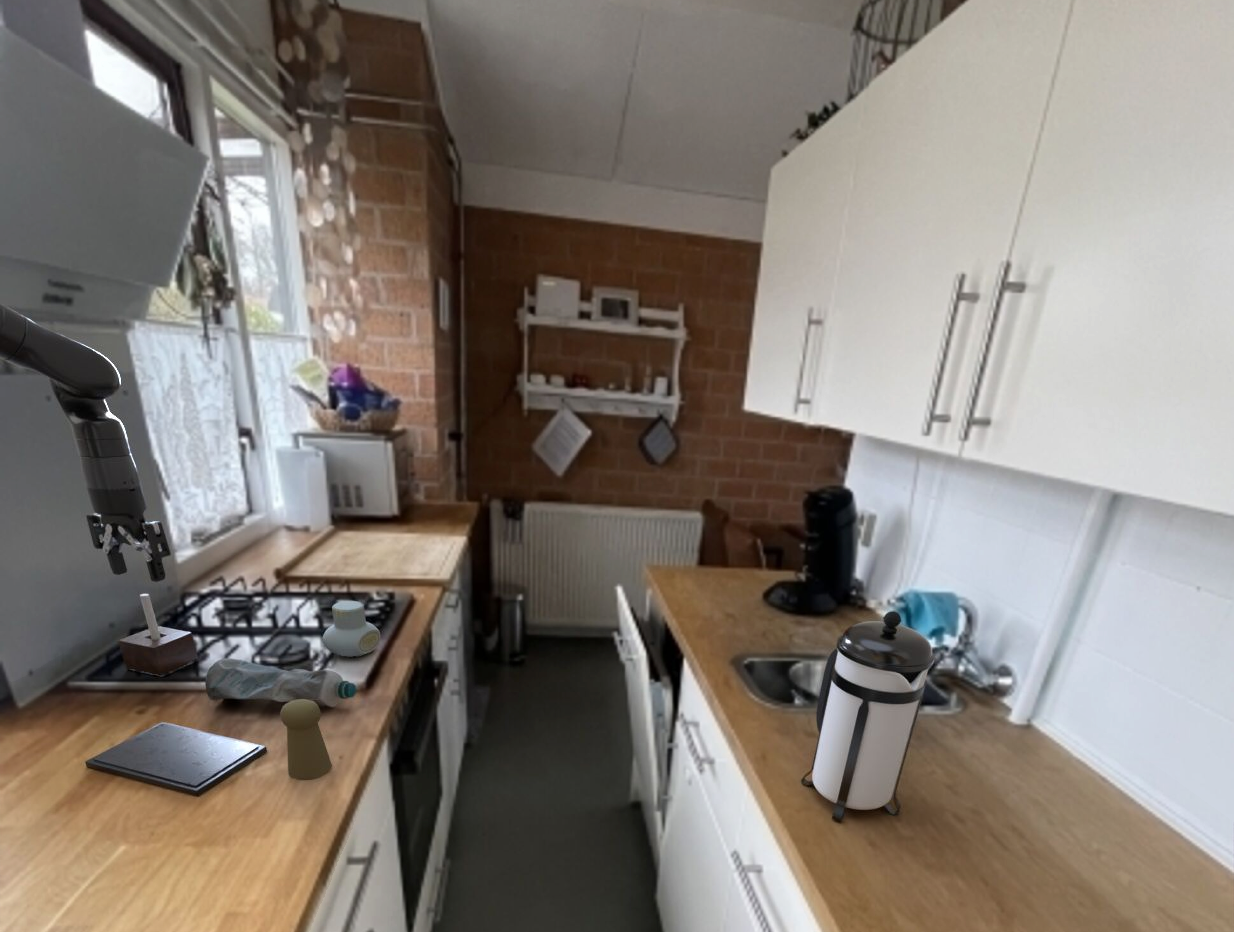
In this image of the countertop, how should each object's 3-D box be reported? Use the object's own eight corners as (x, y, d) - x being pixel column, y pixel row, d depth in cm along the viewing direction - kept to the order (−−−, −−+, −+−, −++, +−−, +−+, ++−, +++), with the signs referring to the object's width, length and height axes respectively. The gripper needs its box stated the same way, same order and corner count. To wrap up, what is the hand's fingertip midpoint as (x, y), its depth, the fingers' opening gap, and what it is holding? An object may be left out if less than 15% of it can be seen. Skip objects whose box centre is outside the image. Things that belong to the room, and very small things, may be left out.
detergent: (194, 709, 118) (333, 726, 115) (186, 669, 115) (328, 685, 112) (245, 683, 130) (372, 697, 127) (239, 646, 127) (369, 659, 124)
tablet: (86, 767, 102) (83, 760, 101) (164, 726, 113) (162, 720, 112) (198, 796, 97) (196, 789, 96) (267, 751, 108) (266, 745, 108)
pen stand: (126, 670, 130) (117, 640, 127) (165, 654, 137) (157, 625, 134) (162, 678, 128) (153, 647, 125) (199, 661, 135) (192, 632, 132)
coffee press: (913, 790, 110) (966, 609, 96) (882, 841, 98) (938, 641, 84) (808, 753, 118) (844, 581, 104) (769, 795, 106) (803, 607, 92)
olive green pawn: (340, 766, 106) (330, 701, 101) (305, 784, 101) (293, 717, 96) (314, 753, 108) (303, 690, 103) (279, 770, 104) (265, 705, 99)
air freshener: (354, 639, 149) (348, 594, 144) (387, 646, 147) (382, 600, 142) (318, 657, 140) (310, 610, 135) (353, 665, 137) (346, 617, 133)
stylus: (157, 666, 132) (137, 595, 125) (163, 663, 133) (144, 593, 126) (163, 667, 131) (143, 596, 125) (169, 665, 133) (150, 594, 126)
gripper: (58, 481, 115) (88, 577, 123) (126, 491, 112) (152, 588, 119) (101, 475, 121) (127, 566, 129) (167, 484, 118) (189, 577, 126)
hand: (139, 577), depth 124 cm, fingers open, 8 cm apart
